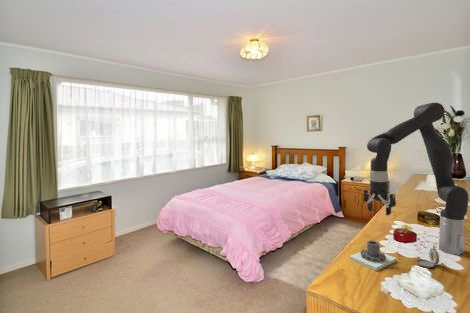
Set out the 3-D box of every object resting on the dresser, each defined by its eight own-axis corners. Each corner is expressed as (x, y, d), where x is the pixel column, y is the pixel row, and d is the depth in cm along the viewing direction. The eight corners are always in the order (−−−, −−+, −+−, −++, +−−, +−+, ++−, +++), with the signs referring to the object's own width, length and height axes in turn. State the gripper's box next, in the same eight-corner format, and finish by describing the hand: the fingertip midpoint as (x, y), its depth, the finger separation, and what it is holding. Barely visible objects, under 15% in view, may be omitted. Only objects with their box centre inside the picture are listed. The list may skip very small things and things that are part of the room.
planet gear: (390, 258, 120) (390, 244, 120) (376, 264, 115) (377, 249, 115) (369, 250, 129) (369, 236, 129) (356, 255, 124) (356, 241, 124)
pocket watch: (412, 262, 119) (413, 242, 118) (424, 259, 122) (425, 238, 121) (431, 271, 111) (432, 249, 110) (443, 267, 114) (444, 245, 113)
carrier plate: (396, 261, 121) (396, 248, 120) (375, 271, 113) (376, 257, 112) (370, 250, 132) (370, 239, 131) (349, 258, 124) (349, 247, 124)
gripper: (398, 180, 119) (398, 214, 120) (369, 177, 131) (369, 208, 133) (389, 182, 115) (389, 218, 117) (360, 179, 127) (360, 210, 129)
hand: (378, 212), depth 125 cm, fingers open, 8 cm apart
